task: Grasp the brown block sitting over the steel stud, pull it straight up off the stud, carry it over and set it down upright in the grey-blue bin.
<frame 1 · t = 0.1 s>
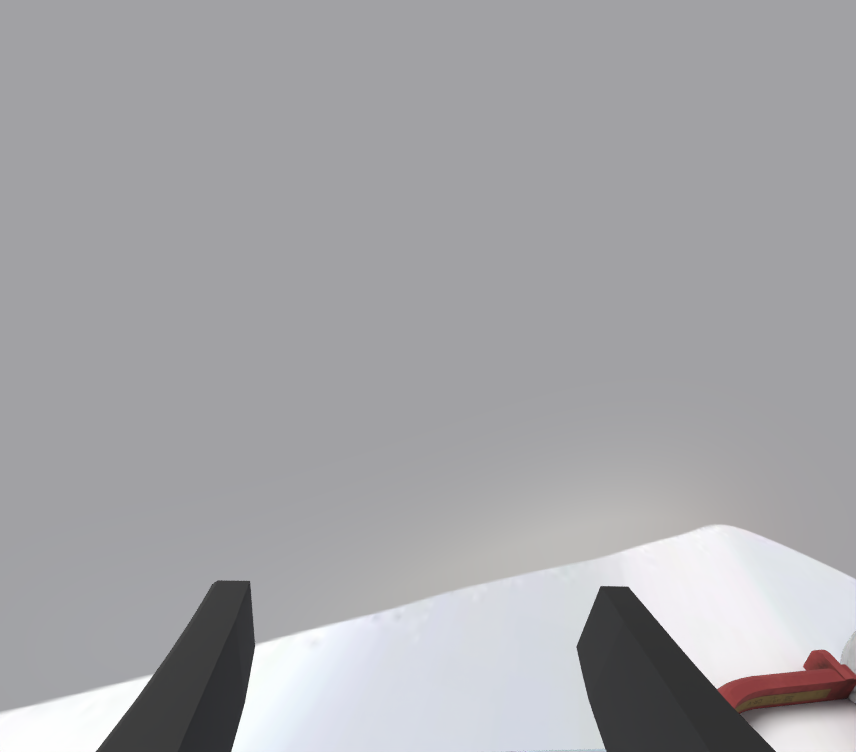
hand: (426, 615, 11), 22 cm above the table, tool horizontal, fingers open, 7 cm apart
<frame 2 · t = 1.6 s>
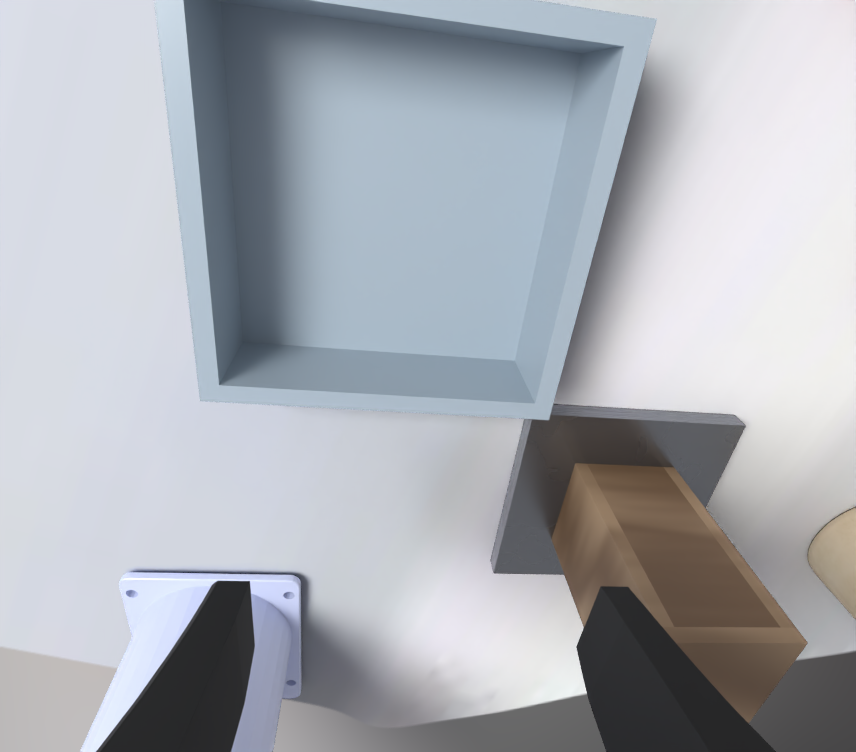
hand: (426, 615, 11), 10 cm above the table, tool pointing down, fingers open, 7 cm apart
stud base: (604, 492, 24), on the table
brown block: (610, 504, 23), point 1 cm above the table, touching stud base
bin: (393, 209, 17), on the table
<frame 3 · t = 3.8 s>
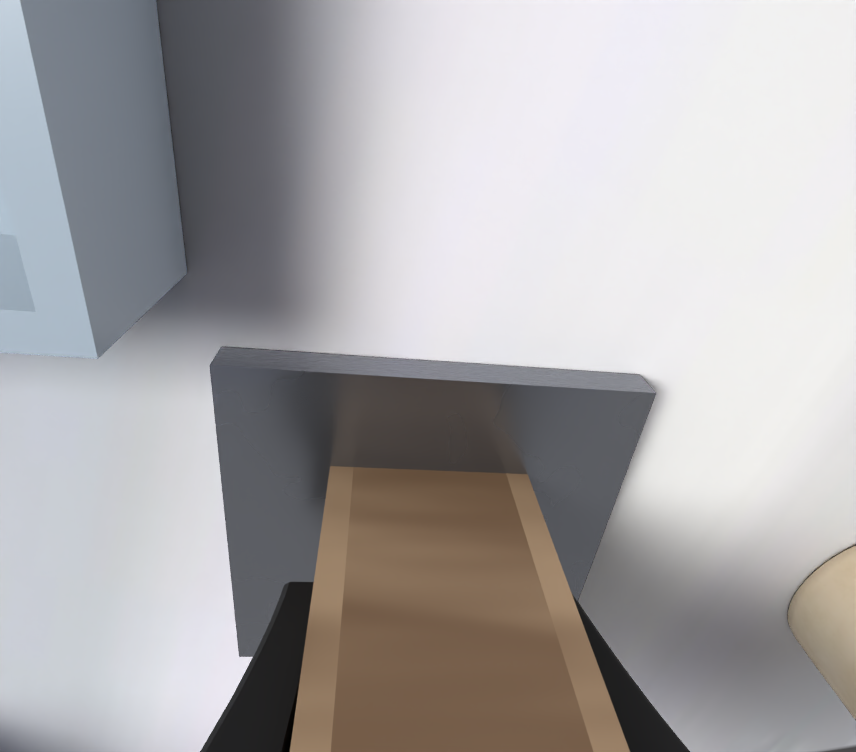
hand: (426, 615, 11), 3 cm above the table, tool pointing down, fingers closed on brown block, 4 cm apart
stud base: (418, 517, 13), on the table
brown block: (420, 541, 13), point 1 cm above the table, touching gripper, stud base
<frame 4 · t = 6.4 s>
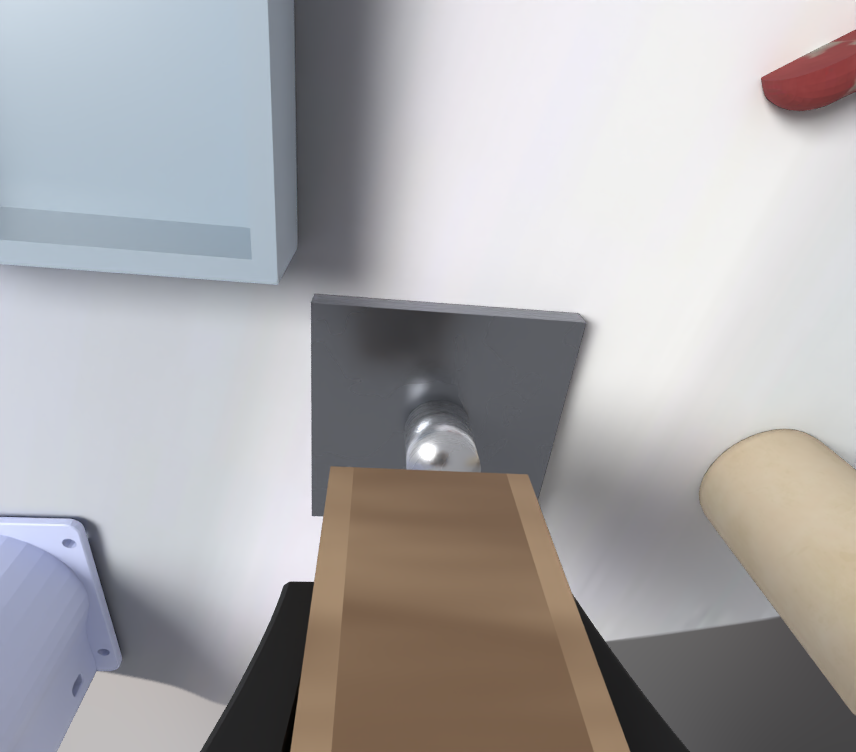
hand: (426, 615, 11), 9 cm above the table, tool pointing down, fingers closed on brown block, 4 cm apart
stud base: (435, 415, 20), on the table
brown block: (420, 541, 13), point 7 cm above the table, touching gripper
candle: (757, 476, 23), on the table
bin: (68, 9, 13), on the table
when the fingers open (4 cm above the table, at t = 9.3 s): brown block drops 1 cm, resting on bin.
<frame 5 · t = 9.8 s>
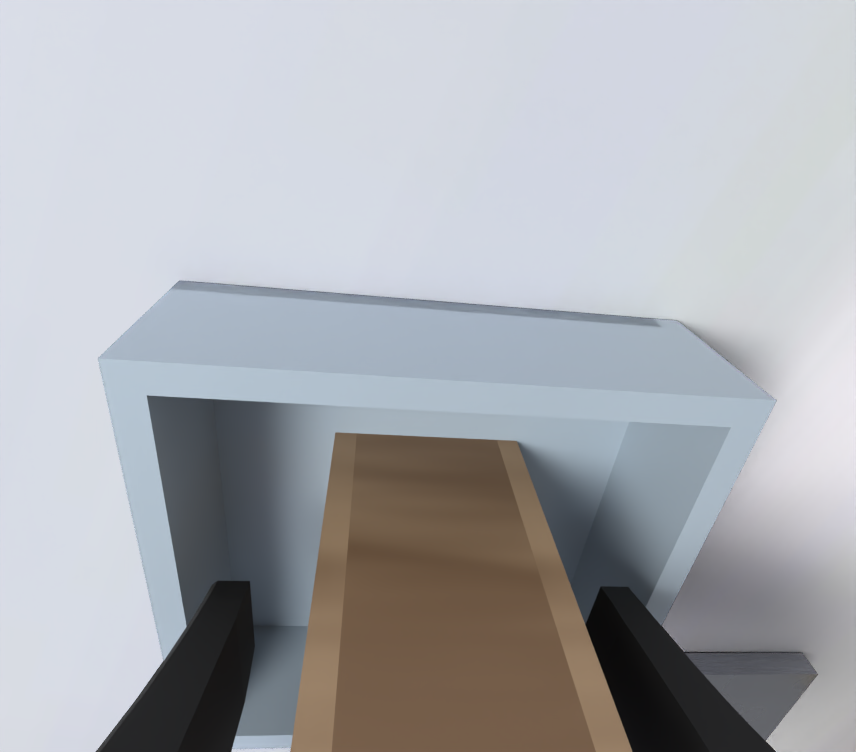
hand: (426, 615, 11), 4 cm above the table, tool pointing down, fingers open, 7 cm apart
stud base: (648, 722, 21), on the table
brown block: (418, 505, 14), resting on bin
bin: (416, 493, 14), on the table
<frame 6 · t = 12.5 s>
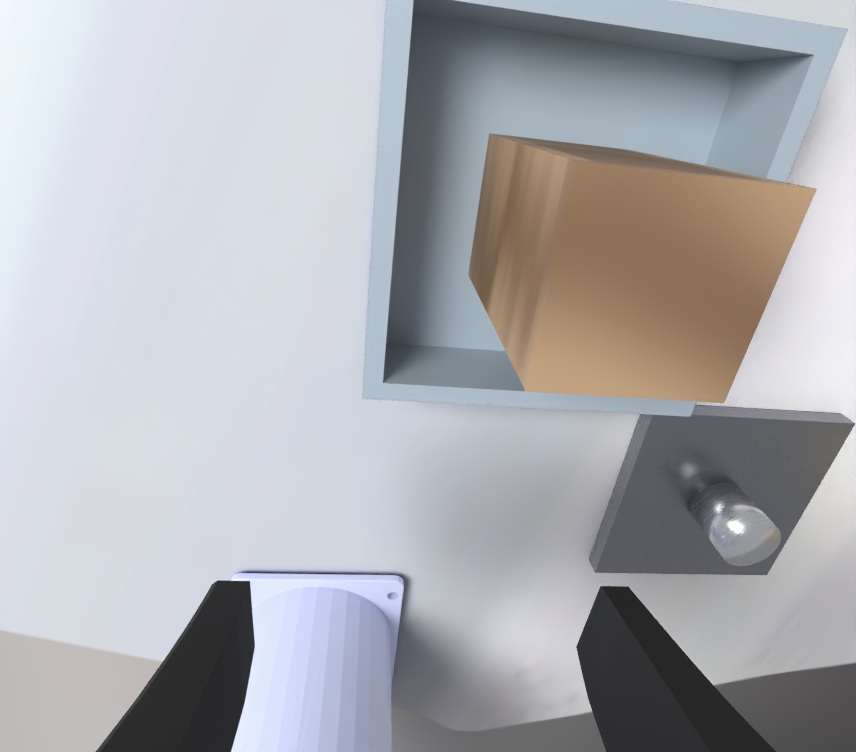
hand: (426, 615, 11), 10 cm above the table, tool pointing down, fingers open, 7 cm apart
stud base: (706, 491, 24), on the table
brown block: (544, 215, 17), resting on bin
bin: (539, 213, 17), on the table
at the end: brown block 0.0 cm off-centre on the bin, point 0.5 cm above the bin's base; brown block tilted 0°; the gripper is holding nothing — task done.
